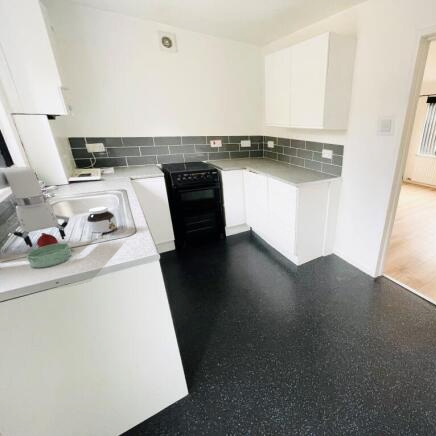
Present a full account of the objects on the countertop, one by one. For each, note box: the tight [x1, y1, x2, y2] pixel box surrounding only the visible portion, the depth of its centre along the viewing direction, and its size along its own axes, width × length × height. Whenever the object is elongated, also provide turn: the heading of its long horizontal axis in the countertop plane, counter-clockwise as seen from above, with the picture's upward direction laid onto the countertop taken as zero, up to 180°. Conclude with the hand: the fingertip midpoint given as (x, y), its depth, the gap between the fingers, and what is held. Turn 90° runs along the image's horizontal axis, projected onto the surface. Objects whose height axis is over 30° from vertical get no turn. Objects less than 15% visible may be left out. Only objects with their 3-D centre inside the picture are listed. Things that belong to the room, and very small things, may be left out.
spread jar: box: [86, 206, 118, 236], centre depth 116 cm, size 12×11×12 cm
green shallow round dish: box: [26, 242, 72, 269], centre depth 90 cm, size 11×11×4 cm
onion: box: [36, 232, 59, 248], centre depth 98 cm, size 6×6×8 cm
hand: (47, 242), depth 98 cm, fingers open, 9 cm apart
